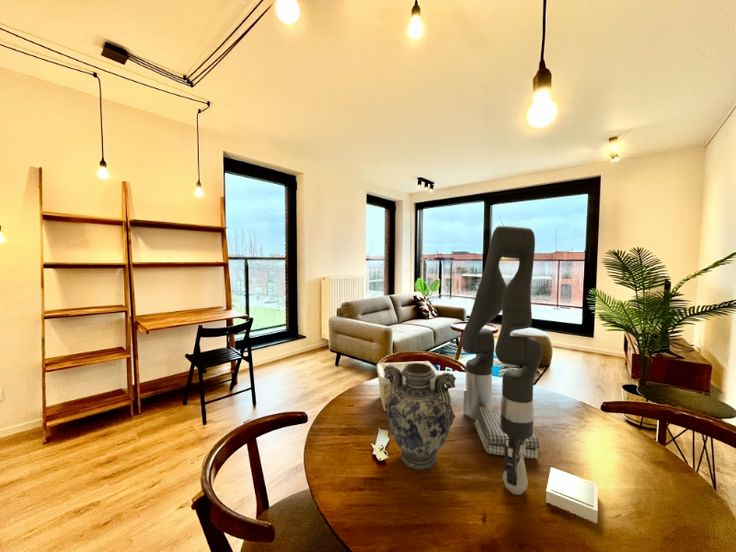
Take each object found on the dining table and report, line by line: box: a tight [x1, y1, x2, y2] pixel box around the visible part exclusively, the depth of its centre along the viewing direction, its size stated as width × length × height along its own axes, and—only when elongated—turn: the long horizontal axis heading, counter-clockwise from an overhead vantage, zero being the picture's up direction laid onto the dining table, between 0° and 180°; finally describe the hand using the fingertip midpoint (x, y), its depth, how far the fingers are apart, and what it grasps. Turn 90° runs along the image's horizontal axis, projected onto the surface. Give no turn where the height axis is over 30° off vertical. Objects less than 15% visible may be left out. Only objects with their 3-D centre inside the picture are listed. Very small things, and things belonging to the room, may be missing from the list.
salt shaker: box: [502, 442, 529, 496], centre depth 78 cm, size 6×6×13 cm
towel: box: [474, 406, 540, 460], centre depth 98 cm, size 15×18×8 cm
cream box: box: [376, 360, 440, 413], centre depth 124 cm, size 24×16×15 cm
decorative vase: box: [384, 363, 456, 471], centre depth 90 cm, size 21×19×28 cm
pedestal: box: [545, 467, 599, 524], centre depth 75 cm, size 10×10×3 cm
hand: (515, 474), depth 78 cm, fingers open, 8 cm apart
